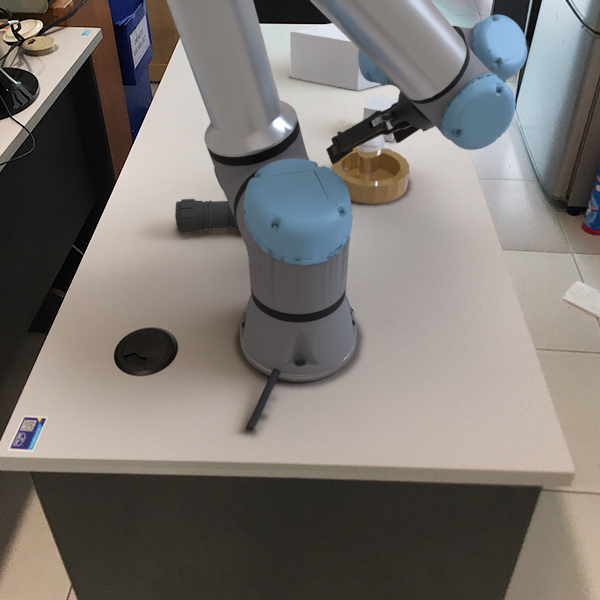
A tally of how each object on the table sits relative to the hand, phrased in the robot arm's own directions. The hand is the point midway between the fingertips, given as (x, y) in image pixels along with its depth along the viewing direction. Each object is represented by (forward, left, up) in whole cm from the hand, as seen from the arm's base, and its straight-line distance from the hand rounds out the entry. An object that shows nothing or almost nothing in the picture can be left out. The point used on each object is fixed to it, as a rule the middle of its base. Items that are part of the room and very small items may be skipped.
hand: (363, 145), depth 108 cm
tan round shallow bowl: (-1, -2, -6) cm, 7 cm away
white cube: (+15, +8, -6) cm, 18 cm away
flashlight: (-27, +6, -6) cm, 28 cm away
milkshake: (-1, -2, -6) cm, 7 cm away
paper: (+32, +28, -6) cm, 43 cm away
